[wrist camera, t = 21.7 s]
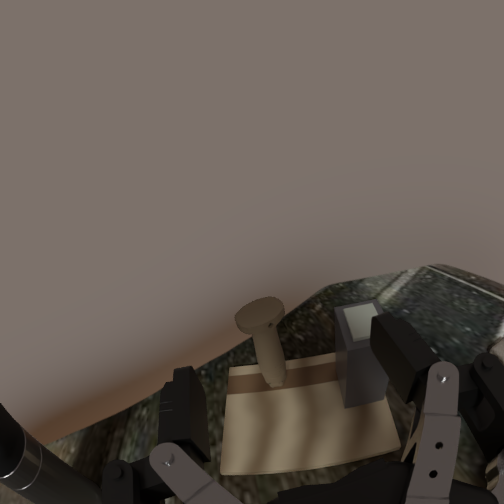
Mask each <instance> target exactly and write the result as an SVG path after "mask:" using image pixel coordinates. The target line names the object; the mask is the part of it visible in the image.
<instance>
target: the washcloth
mask: <svg viewBox="0 0 504 504" xmlns="http://www.w3.org/2000/svg"><path fill="white" fill-rule="evenodd" d="M489 352H490V353H491V354H493V355H495V356H496V357H497V358H498V359H499V361H500V362H501V363H502V364H503V366H504V338H503V339H502V340H500V341H499V342H498V343H497V344H496V345H494V346H493V347H492V348H491V349H490V351H489Z"/></svg>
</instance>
